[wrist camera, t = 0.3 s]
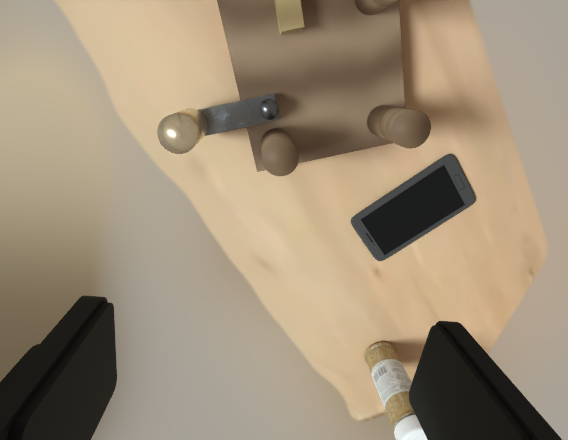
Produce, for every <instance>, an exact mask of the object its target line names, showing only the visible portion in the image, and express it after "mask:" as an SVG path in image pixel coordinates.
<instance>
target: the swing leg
mask: <svg viewBox="0 0 568 440" xmlns="http://www.w3.org/2000/svg"><path fill="white" fill-rule="evenodd" d="M278 113H279V106H278V104H277V103H276V101H275V96H274V94H269V95H265V96H260V97H256V98H251V99H246V100H242V101H237V102H232V103H228V104H223V105H218V106H214V107H209V108H204V109H200V110H195V109H186V110H183V111H180V112H177V113H175V114H172V115H169V116H167V117H165V118H164V119H163V120H162V121H161V122H160V124H159V126H158V138H159V141H160V143H161V144H162V146H163V147H164V148H165V149H167V150H168V151H170V152H172V153H176V154H183V153H186V152H188V151H190V150H191V149H192V148H193V147H194V146H195V145H196V144H197V143H198V142H199V141H200V140H201V139H202V138H203V137H204V136H206V135H211V134H216V133H220V132H225V131H230V130H234V129H239V128H244V127H248V126H253V125H258V124H262V123H267V122H271V121H276V120H279V117H278Z"/></svg>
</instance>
